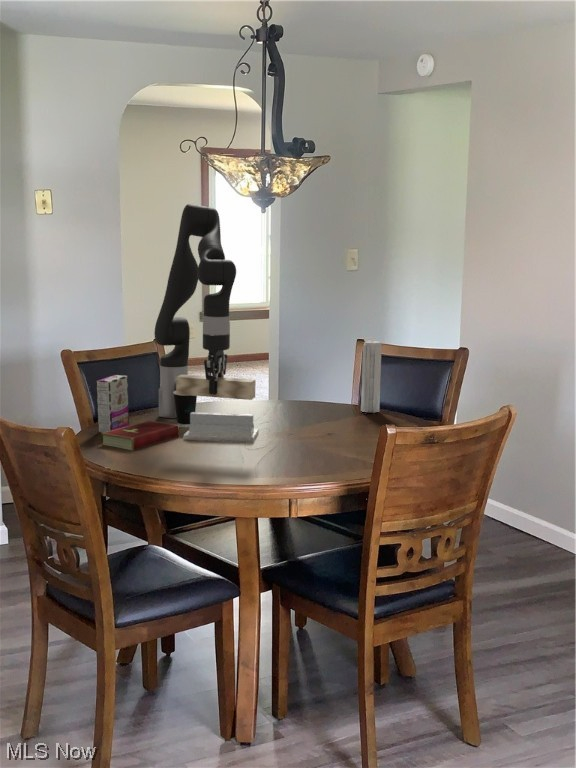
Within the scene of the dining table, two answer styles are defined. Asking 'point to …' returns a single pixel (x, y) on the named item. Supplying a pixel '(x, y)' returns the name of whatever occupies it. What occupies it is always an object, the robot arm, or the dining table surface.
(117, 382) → the candy bar box
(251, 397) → the beech batten
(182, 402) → the dixie cup
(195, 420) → the ridge
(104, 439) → the hardcover book
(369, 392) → the air filter
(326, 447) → the dining table surface
